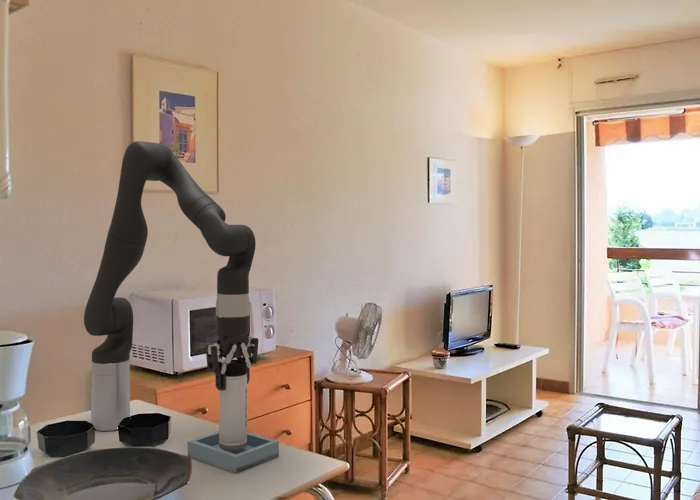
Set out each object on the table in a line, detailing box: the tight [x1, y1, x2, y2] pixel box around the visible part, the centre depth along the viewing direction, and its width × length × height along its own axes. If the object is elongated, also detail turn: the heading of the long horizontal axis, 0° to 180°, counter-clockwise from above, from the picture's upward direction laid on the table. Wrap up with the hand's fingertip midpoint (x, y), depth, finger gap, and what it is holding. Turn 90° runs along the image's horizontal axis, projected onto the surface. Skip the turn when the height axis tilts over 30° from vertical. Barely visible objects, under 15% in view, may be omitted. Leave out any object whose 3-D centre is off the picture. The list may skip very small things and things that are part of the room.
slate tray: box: [187, 430, 280, 474], centre depth 148 cm, size 16×13×4 cm
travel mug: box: [218, 359, 248, 451], centre depth 148 cm, size 6×7×20 cm
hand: (232, 386), depth 148 cm, fingers closed on travel mug, 6 cm apart
